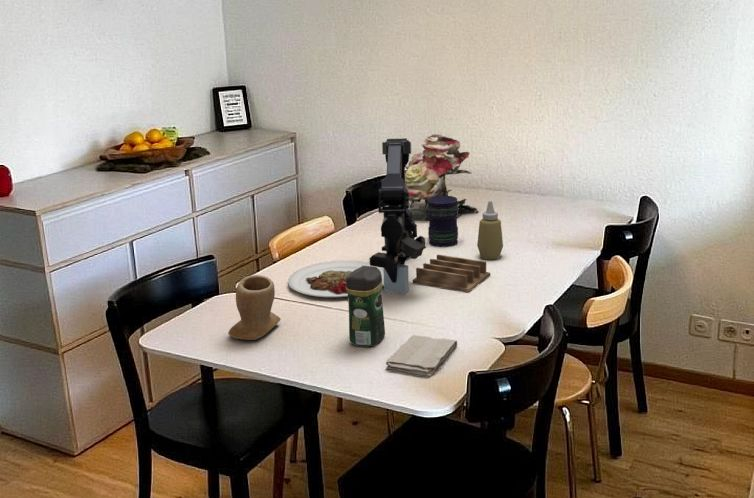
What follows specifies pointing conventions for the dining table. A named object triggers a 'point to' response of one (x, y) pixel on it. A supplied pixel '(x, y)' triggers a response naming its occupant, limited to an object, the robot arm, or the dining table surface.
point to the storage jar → (443, 221)
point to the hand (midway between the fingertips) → (396, 281)
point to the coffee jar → (365, 306)
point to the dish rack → (452, 273)
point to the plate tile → (398, 280)
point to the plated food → (326, 278)
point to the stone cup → (254, 308)
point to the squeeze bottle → (490, 234)
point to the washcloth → (421, 356)
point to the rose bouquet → (433, 173)
